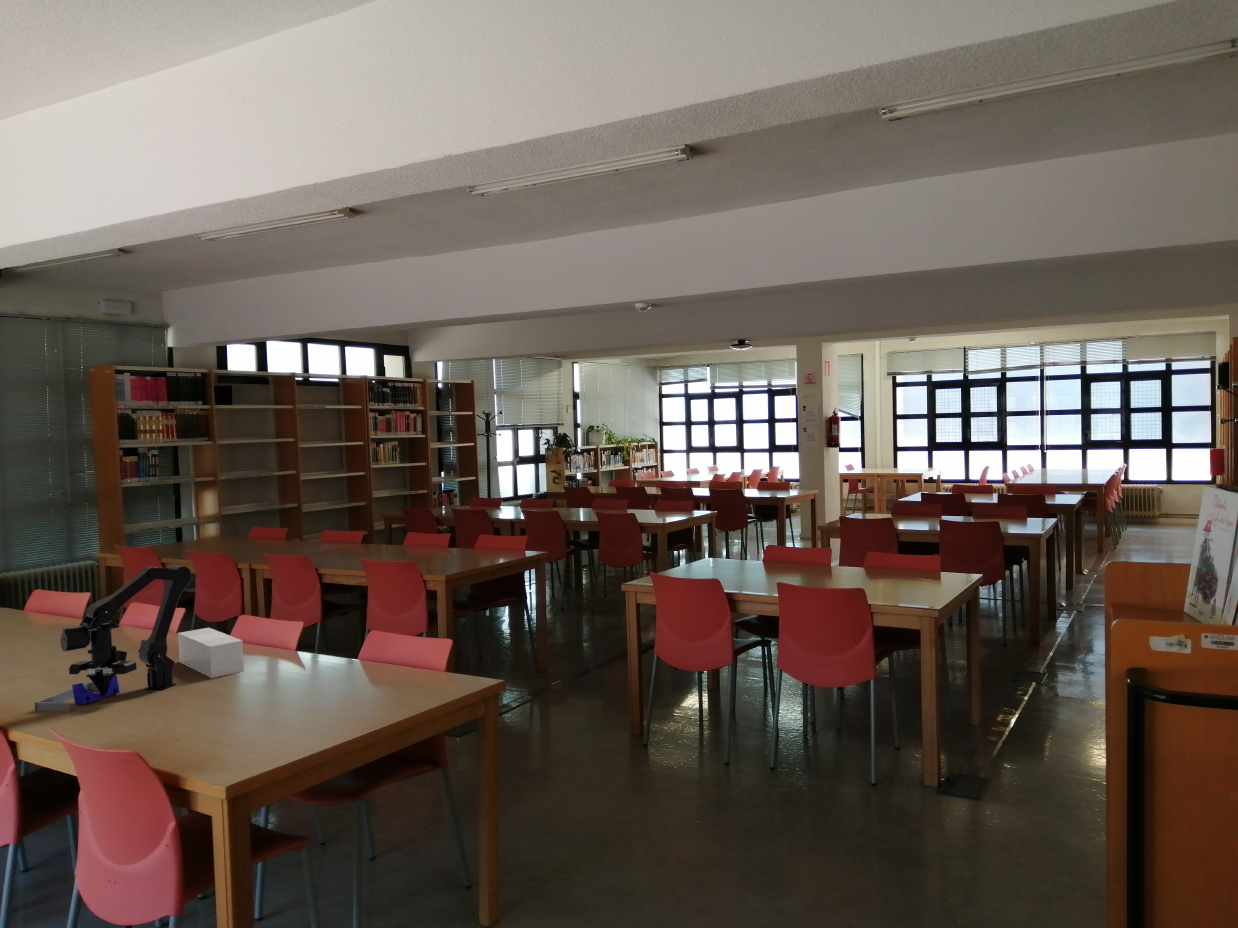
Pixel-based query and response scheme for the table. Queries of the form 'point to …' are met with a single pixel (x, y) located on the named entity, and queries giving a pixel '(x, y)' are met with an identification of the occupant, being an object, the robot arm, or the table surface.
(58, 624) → the table surface
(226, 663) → the stack of papers
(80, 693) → the blue cradle mount
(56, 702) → the bracket
